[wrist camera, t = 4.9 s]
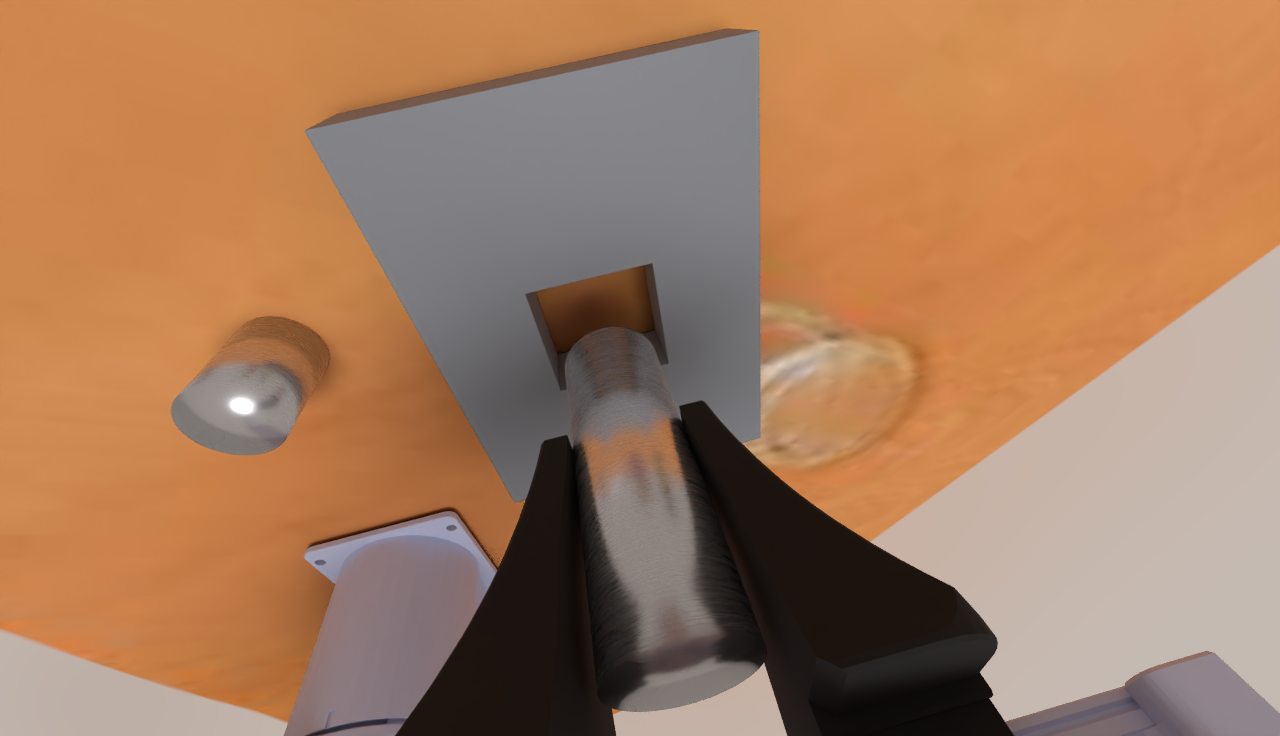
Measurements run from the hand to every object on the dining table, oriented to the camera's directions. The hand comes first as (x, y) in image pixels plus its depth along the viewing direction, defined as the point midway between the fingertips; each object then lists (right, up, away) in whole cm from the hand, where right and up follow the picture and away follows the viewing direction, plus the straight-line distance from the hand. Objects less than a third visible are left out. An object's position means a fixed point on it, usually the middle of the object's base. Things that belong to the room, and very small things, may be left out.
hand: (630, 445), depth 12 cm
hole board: (-2, +5, +6) cm, 8 cm away
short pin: (-13, +3, +5) cm, 15 cm away
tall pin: (-1, +2, +3) cm, 3 cm away
